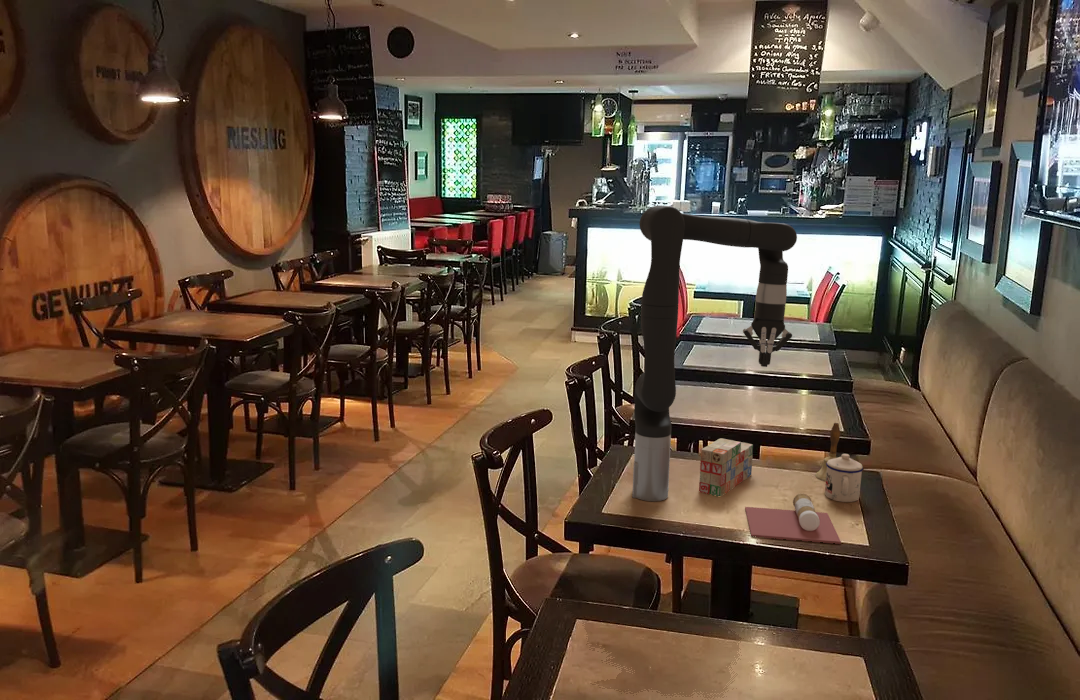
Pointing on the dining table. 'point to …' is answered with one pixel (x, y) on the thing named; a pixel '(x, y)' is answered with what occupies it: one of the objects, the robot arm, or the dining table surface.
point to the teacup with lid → (843, 479)
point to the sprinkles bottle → (806, 512)
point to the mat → (788, 526)
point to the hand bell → (834, 440)
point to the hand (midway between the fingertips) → (763, 366)
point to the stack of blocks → (724, 466)
